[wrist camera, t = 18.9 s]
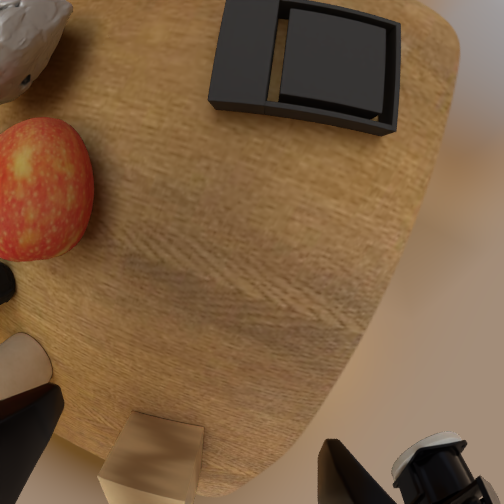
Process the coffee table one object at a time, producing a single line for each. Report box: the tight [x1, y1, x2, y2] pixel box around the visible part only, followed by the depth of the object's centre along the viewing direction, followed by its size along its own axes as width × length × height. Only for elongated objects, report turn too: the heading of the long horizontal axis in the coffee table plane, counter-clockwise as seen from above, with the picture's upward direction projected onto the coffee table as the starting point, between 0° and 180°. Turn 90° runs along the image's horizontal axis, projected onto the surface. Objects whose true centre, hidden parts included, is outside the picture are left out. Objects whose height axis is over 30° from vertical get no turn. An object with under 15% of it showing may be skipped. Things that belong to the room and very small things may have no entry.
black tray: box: [208, 0, 401, 136], centre depth 15 cm, size 10×7×2 cm
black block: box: [278, 9, 386, 120], centre depth 15 cm, size 6×6×2 cm
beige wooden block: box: [97, 411, 204, 504], centre depth 20 cm, size 6×6×8 cm
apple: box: [0, 117, 94, 262], centre depth 15 cm, size 8×8×8 cm
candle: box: [0, 333, 52, 400], centre depth 18 cm, size 6×6×10 cm
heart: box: [0, 0, 110, 104], centre depth 11 cm, size 10×10×12 cm
